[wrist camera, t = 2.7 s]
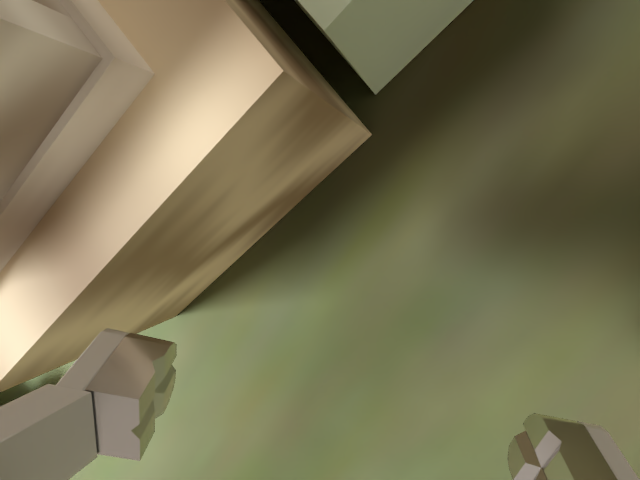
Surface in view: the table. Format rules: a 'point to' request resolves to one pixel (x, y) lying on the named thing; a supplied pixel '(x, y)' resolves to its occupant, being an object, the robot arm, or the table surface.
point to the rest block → (381, 31)
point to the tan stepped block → (144, 160)
